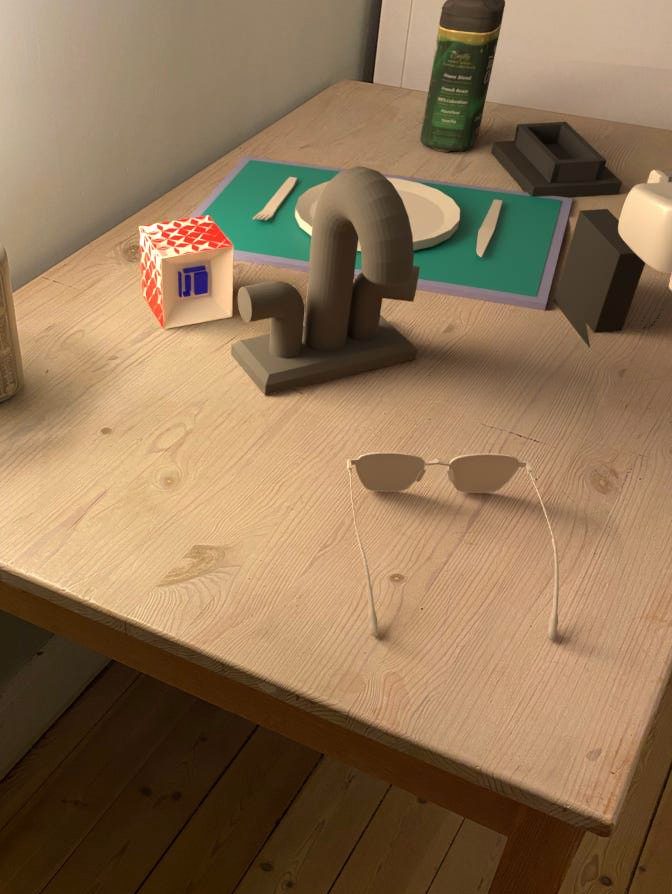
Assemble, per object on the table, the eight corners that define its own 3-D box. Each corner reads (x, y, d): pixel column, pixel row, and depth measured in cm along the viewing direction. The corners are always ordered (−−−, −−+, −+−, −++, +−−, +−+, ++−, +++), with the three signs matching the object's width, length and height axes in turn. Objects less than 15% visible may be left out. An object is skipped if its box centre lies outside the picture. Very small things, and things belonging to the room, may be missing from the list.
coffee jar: (468, 157, 133) (498, 3, 119) (413, 149, 135) (437, -4, 121) (483, 134, 139) (514, -16, 125) (431, 126, 141) (455, -22, 127)
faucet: (292, 437, 88) (310, 223, 73) (225, 355, 98) (229, 151, 83) (459, 395, 92) (506, 184, 78) (378, 320, 102) (407, 121, 88)
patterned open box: (208, 284, 108) (208, 215, 103) (232, 316, 103) (233, 245, 98) (141, 296, 107) (138, 226, 101) (162, 329, 102) (160, 258, 96)
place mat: (164, 250, 115) (164, 231, 113) (244, 161, 134) (244, 144, 133) (544, 310, 104) (549, 290, 102) (571, 204, 123) (576, 186, 121)
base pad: (619, 194, 124) (629, 162, 121) (530, 199, 123) (538, 167, 120) (572, 148, 135) (580, 117, 132) (490, 152, 134) (497, 122, 131)
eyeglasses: (519, 491, 82) (530, 453, 79) (567, 643, 70) (582, 605, 67) (342, 488, 83) (347, 451, 80) (359, 639, 71) (365, 601, 68)
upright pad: (616, 345, 98) (649, 252, 91) (589, 347, 98) (620, 253, 91) (579, 299, 105) (607, 208, 98) (553, 301, 105) (579, 210, 98)
